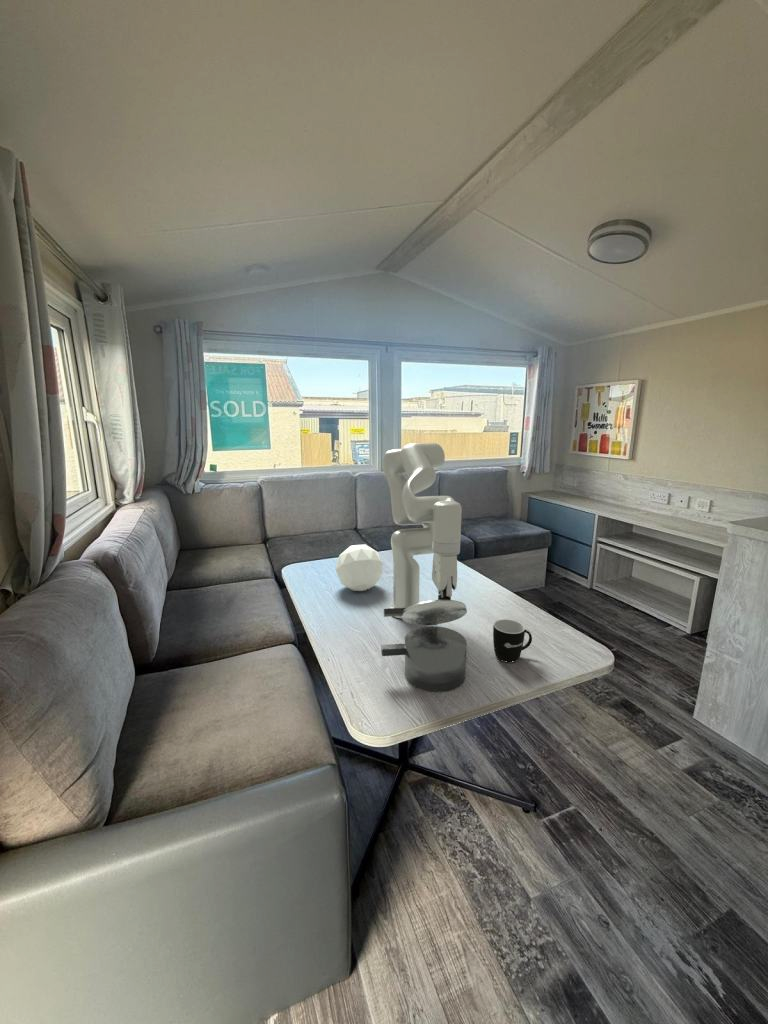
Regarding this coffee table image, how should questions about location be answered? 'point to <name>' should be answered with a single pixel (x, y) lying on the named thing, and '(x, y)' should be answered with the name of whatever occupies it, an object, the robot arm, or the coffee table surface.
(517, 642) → the mug
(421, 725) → the coffee table surface
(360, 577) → the geometric polyhedron
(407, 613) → the lid
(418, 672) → the pot
